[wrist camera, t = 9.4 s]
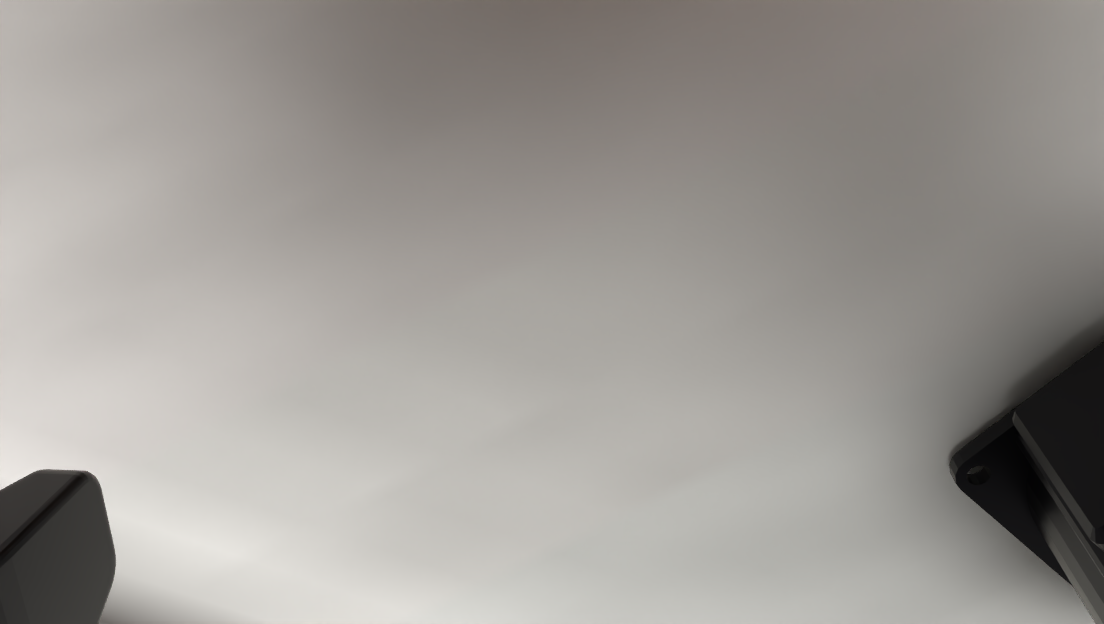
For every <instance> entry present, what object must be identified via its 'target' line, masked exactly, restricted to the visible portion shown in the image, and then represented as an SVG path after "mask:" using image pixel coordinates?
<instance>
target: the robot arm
mask: <svg viewBox="0 0 1104 624" xmlns="http://www.w3.org/2000/svg"><path fill="white" fill-rule="evenodd" d="M976 466H984V467H983V468H982V469H981V470H980V471H979V472H977V473H974V474H967V473H968V472H969V471H970V469H971V468H974V467H976ZM949 467H950V473H951V475H952V477H953V479H954V481H955V482H956V484H957V485H958V487H959V488H960V489H961V490H962V491H963V492H964V493H965V494H966V495H967V496H969V497H970V498H971V499H972V500H973V501H974V502H976V503H977V504H978V505H979V506H980V507H981V508H983V509H984V510H985V511H986V512H987V513H988V514H990V515H991V516H992V517H993V518H994V519H995V520H996V521H998V522H999V523H1000V524H1001V525H1002V526H1003V527H1005V528H1006V529H1007V530H1008V531H1009V532H1010V533H1012V534H1013V535H1014V536H1015V537H1016V538H1017V539H1019V540H1020V541H1021V542H1022V543H1023V544H1024V545H1025V546H1027V547H1028V548H1029V549H1030V550H1031V551H1032V552H1034V553H1035V554H1036V555H1037V556H1038V557H1039V558H1041V559H1042V560H1043V561H1044V562H1045V563H1046V564H1048V565H1049V566H1050V567H1051V568H1052V569H1053V570H1054V571H1056V572H1057V573H1058V574H1059V575H1060V576H1061V577H1063V578H1064V579H1065V580H1066V581H1067V582H1068V583H1070V584H1071V585H1072V586H1073V587H1074V589H1075V590H1076V592H1077V594H1078V595H1079V597H1080V599H1081V600H1082V602H1083V604H1084V605H1085V607H1086V609H1087V610H1088V612H1089V614H1090V615H1091V617H1092V618H1093V620H1094V622H1095V623H1096V624H1104V342H1102V343H1101V344H1100V345H1098V346H1097V347H1096V348H1094V349H1093V350H1092V351H1091V352H1089V353H1088V354H1087V355H1085V356H1084V357H1083V358H1081V359H1080V360H1079V361H1077V362H1076V363H1075V364H1073V365H1072V366H1071V367H1069V368H1068V369H1067V370H1065V371H1064V372H1063V373H1061V374H1060V375H1059V376H1057V377H1056V378H1055V379H1053V380H1052V381H1051V382H1049V383H1048V384H1047V385H1046V386H1044V387H1043V388H1042V389H1040V390H1039V391H1038V392H1036V393H1035V394H1034V395H1032V396H1031V397H1030V398H1028V399H1027V400H1026V401H1024V402H1023V403H1022V404H1020V405H1019V406H1018V407H1016V408H1015V409H1014V410H1012V411H1011V412H1010V413H1008V414H1007V415H1006V416H1004V417H1003V418H1002V419H1000V420H999V421H998V422H997V423H995V424H994V425H993V426H991V427H990V428H989V429H987V430H986V431H985V432H983V433H982V434H981V435H979V436H978V437H977V438H975V439H974V440H973V441H971V442H970V443H969V444H967V445H966V446H965V447H963V448H962V449H961V450H959V451H958V452H957V453H956V454H955V455H954V456H953V457H952V459H951V462H950V465H949ZM115 566H116V555H115V549H114V544H113V540H112V535H111V530H110V526H109V521H108V517H107V512H106V508H105V503H104V498H103V494H102V490H101V487H100V484H99V482H98V480H97V478H96V477H95V476H94V475H93V474H91V473H89V472H88V471H77V470H51V469H46V470H39V471H36V472H33V473H31V474H29V475H28V476H26V477H24V478H22V479H20V480H18V481H17V482H15V483H13V484H11V485H9V486H7V487H5V488H4V489H2V490H0V624H99V621H100V618H101V615H102V612H103V609H104V607H105V604H106V601H107V598H108V595H109V592H110V590H111V587H112V583H113V580H114V575H115Z"/></svg>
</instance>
